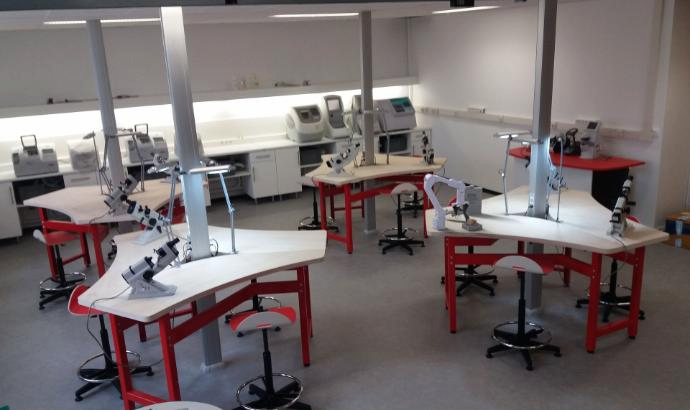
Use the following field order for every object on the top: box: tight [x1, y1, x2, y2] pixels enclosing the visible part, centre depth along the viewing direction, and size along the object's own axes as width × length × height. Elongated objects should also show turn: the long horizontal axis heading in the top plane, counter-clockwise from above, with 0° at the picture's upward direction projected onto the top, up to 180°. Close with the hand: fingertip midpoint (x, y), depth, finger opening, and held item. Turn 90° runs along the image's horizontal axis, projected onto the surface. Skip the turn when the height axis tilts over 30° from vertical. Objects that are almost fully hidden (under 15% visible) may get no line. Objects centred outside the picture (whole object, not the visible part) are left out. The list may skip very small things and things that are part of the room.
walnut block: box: [466, 218, 478, 226], centre depth 442 cm, size 5×5×6 cm
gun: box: [434, 205, 471, 223], centre depth 467 cm, size 5×27×15 cm, turn 63°
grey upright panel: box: [461, 184, 483, 215], centre depth 482 cm, size 17×5×25 cm, turn 91°
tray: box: [461, 222, 483, 232], centre depth 442 cm, size 12×10×4 cm
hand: (460, 214), depth 445 cm, fingers open, 7 cm apart
